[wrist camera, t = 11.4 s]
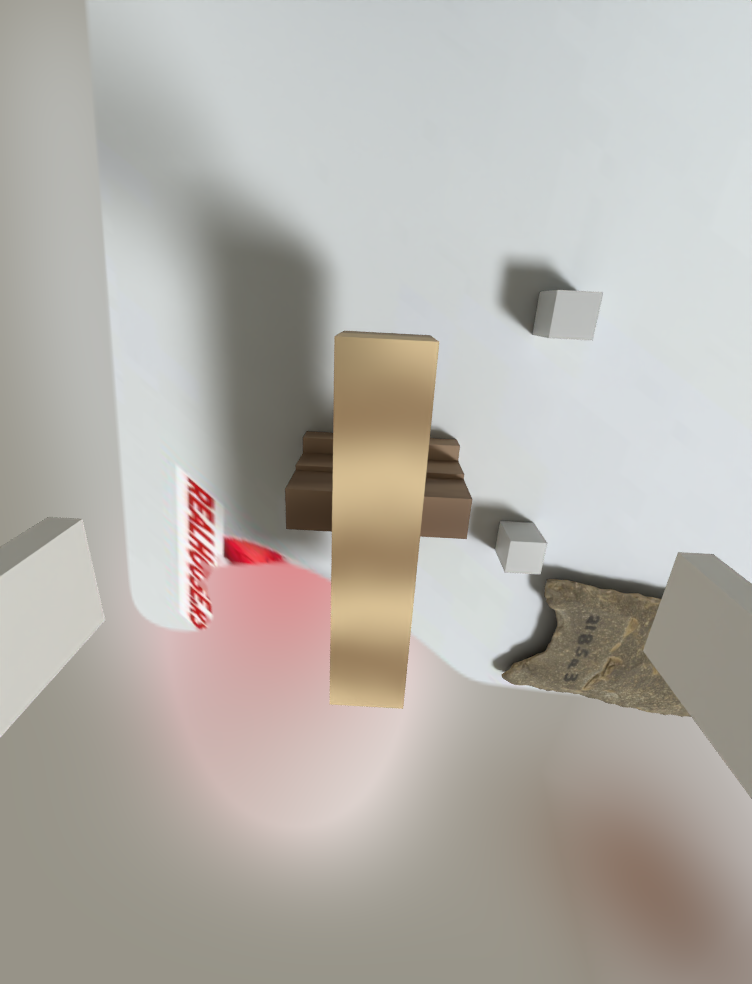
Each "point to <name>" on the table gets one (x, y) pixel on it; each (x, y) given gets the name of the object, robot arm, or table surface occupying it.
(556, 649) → the stone tool
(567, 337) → the gray blocks
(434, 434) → the table surface
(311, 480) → the stepped block
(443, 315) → the table surface
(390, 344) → the brass bar
